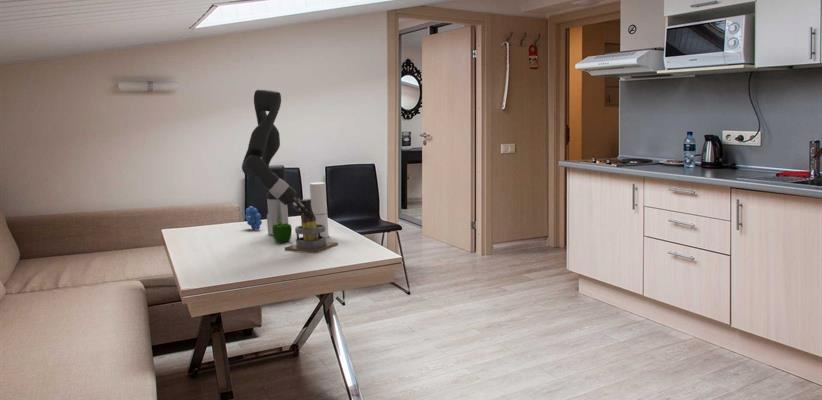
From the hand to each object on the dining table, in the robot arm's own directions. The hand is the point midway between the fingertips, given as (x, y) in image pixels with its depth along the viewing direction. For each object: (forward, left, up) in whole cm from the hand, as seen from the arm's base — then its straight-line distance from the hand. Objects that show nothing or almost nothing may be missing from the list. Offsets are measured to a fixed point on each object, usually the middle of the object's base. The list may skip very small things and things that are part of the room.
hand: (312, 216), depth 270 cm
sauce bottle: (-1, -1, -12) cm, 13 cm away
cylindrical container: (-12, +20, -14) cm, 27 cm away
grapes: (-58, +24, -14) cm, 64 cm away
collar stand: (-1, -1, -13) cm, 13 cm away
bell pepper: (-22, +5, -14) cm, 26 cm away
